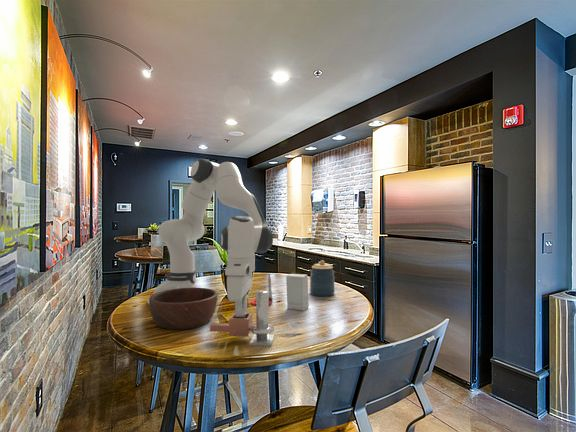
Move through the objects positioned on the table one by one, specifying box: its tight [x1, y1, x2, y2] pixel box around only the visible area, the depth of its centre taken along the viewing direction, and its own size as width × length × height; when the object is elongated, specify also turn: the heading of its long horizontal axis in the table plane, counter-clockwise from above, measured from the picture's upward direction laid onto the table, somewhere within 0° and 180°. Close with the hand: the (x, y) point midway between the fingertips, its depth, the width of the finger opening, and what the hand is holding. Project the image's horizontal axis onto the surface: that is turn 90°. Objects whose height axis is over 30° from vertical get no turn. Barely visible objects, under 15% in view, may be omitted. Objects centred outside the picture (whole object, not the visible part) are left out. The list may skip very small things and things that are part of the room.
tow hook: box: [250, 273, 274, 306], centre depth 145 cm, size 9×14×10 cm
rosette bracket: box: [209, 289, 275, 347], centre depth 101 cm, size 21×8×16 cm, turn 86°
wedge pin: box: [234, 293, 248, 318], centre depth 101 cm, size 3×3×10 cm
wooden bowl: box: [148, 287, 218, 330], centre depth 120 cm, size 25×25×10 cm
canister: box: [309, 259, 336, 297], centre depth 163 cm, size 13×13×18 cm
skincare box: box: [285, 273, 310, 312], centre depth 137 cm, size 8×6×15 cm
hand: (241, 307), depth 101 cm, fingers open, 3 cm apart
